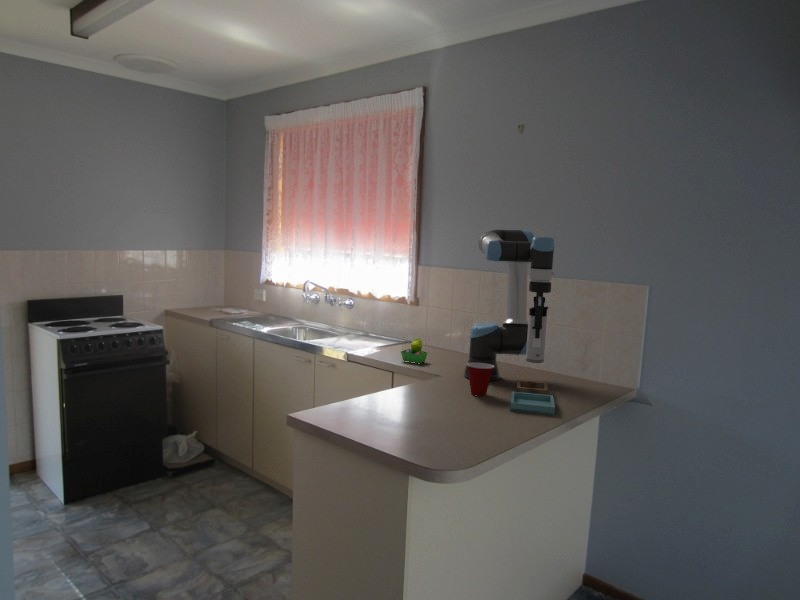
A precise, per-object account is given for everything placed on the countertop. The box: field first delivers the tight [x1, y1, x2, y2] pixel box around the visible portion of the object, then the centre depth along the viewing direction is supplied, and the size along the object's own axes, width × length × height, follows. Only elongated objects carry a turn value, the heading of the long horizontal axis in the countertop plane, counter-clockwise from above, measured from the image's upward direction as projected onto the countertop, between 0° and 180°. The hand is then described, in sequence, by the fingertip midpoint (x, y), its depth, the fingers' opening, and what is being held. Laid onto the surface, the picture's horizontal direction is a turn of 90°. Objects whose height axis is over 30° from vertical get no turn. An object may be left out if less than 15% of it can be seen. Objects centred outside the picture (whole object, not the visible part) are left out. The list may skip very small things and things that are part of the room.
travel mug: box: [525, 306, 549, 364], centre depth 201 cm, size 6×7×20 cm
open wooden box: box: [516, 379, 549, 395], centre depth 220 cm, size 12×12×4 cm
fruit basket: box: [400, 337, 429, 364], centre depth 268 cm, size 11×9×11 cm
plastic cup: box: [465, 362, 494, 397], centre depth 218 cm, size 11×11×12 cm
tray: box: [509, 391, 556, 416], centre depth 205 cm, size 15×15×3 cm
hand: (536, 345), depth 202 cm, fingers closed on travel mug, 6 cm apart
